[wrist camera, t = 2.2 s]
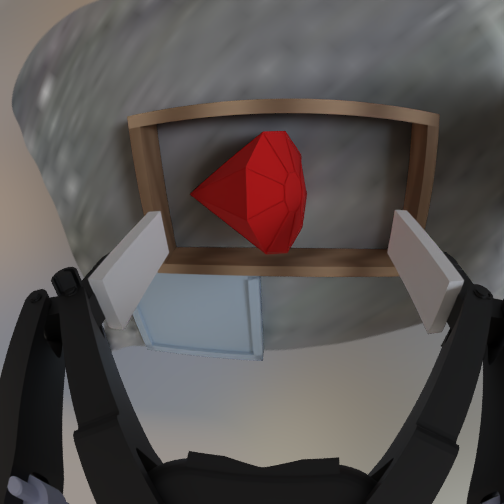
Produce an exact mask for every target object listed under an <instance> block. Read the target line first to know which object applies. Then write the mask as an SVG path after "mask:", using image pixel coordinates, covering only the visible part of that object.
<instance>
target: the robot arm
mask: <svg viewBox="0 0 504 504" xmlns="http://www.w3.org/2000/svg"><path fill="white" fill-rule="evenodd" d="M387 253H388V255H389V257H390V259H391V261H392V262H393V264H394V266H395V268H396V270H397V272H398V273H399V275H400V277H401V279H402V281H403V283H404V285H405V287H406V289H407V291H408V293H409V295H410V297H411V299H412V301H413V303H414V305H415V307H416V309H417V311H418V313H419V316H420V318H421V320H422V322H423V324H424V326H425V329H426V331H427V333H428V334H432V333H439V332H442V331H443V329H444V327H445V324H446V322H447V323H448V325H449V327H450V330H449V332H448V334H447V335H446V337H445V339H444V341H443V343H442V345H441V346H442V349H441V351H440V353H439V356H438V358H437V360H436V363H435V365H434V367H433V369H432V372H431V374H430V376H429V378H428V380H427V382H426V385H425V387H424V388H423V390H422V392H421V394H420V396H419V398H418V400H417V402H416V404H415V406H414V407H413V409H412V411H411V413H410V415H409V416H408V418H407V420H406V422H405V423H404V425H403V427H402V428H401V430H400V432H399V433H398V435H397V437H396V438H395V440H394V441H393V443H392V444H391V446H390V448H389V449H388V450H387V452H386V453H385V455H384V456H383V457H382V459H381V460H380V461H379V462H378V463H377V465H376V466H375V467H374V468H373V469H372V471H371V472H370V473H369V474H368V475H367V474H366V473H364V472H362V471H360V470H357V469H354V468H352V467H348V466H344V465H339V458H324V459H303V460H298V461H294V462H290V463H285V464H280V465H275V466H270V467H257V466H254V465H250V464H247V463H244V462H241V461H238V460H234V459H231V458H228V457H225V456H219V455H212V454H204V453H198V452H192V451H189V453H188V457H187V458H186V459H179V460H174V461H170V462H166V463H164V464H163V463H162V461H161V460H160V458H159V457H158V456H157V454H156V453H155V451H154V450H153V448H152V447H151V445H150V443H149V441H148V439H147V437H146V435H145V433H144V431H143V428H142V427H141V424H140V422H139V420H138V418H137V416H136V413H135V411H134V409H133V407H132V404H131V402H130V400H129V397H128V395H127V392H126V390H125V388H124V385H123V382H122V380H121V377H120V375H119V372H118V369H117V367H116V364H115V361H114V358H113V355H112V352H111V349H110V346H109V343H108V340H107V337H106V334H105V330H104V328H103V326H102V323H103V321H104V320H105V319H106V321H107V323H108V325H109V327H110V328H112V329H118V330H124V328H125V327H126V325H127V323H128V321H129V319H130V318H131V316H132V314H133V312H134V311H135V309H136V307H137V305H138V304H139V302H140V300H141V298H142V297H143V295H144V293H145V292H146V290H147V288H148V287H149V285H150V283H151V282H152V280H153V278H154V277H155V275H156V273H157V272H158V270H159V268H160V267H161V265H162V264H163V262H164V260H165V259H166V257H167V255H168V254H169V250H168V245H167V240H166V236H165V231H164V226H163V221H162V216H161V211H153V212H148V213H147V214H146V215H145V216H144V217H143V218H142V219H141V220H140V221H139V222H138V223H137V224H136V225H135V226H134V228H133V229H132V230H131V231H130V232H129V233H128V234H127V235H126V236H125V237H124V238H123V239H122V240H121V241H120V243H119V244H118V245H117V246H116V247H115V248H114V249H113V250H112V251H111V253H108V254H107V255H105V256H104V257H102V258H101V259H100V260H99V261H98V263H97V265H95V266H94V267H93V268H92V270H91V271H90V272H89V273H88V274H87V275H86V276H85V278H84V279H83V280H82V281H81V278H80V276H79V274H78V271H77V269H76V268H74V267H68V268H64V269H62V270H60V271H58V272H57V273H56V274H55V275H54V276H53V277H52V280H51V282H52V284H53V286H54V288H55V290H56V293H57V295H58V296H57V297H51V298H49V296H48V294H47V292H46V291H45V290H43V289H40V290H37V291H33V292H32V293H31V294H30V295H29V296H28V297H27V299H26V300H25V302H24V305H23V307H22V310H21V313H20V315H19V318H18V321H17V323H16V326H15V329H14V332H13V335H12V338H11V341H10V345H9V348H8V351H7V354H6V358H5V362H4V365H3V369H2V373H1V377H0V504H69V503H67V502H66V500H65V498H64V496H63V485H64V468H63V448H62V410H63V408H62V407H63V390H64V377H65V367H66V373H67V378H68V383H69V389H70V393H71V398H72V402H73V407H74V411H75V415H76V419H77V423H78V430H76V431H74V434H73V437H74V442H75V445H76V449H77V452H78V455H79V458H80V461H81V464H82V467H83V470H84V473H85V476H86V479H87V481H88V484H89V486H90V489H91V491H92V494H93V496H94V499H95V501H96V503H97V504H432V503H433V501H434V499H435V498H436V496H437V494H438V492H439V491H440V489H441V487H442V485H443V483H444V481H445V479H446V477H447V476H448V474H449V472H450V470H451V468H452V465H453V463H454V461H455V459H456V457H457V454H458V451H459V445H457V444H456V441H457V437H458V435H459V433H460V430H461V428H462V425H463V423H464V420H465V417H466V415H467V412H468V409H469V406H470V403H471V400H472V397H473V394H474V391H475V388H476V384H477V381H478V377H479V373H480V370H481V366H482V362H483V399H482V414H481V425H480V433H479V440H478V448H477V453H476V459H475V464H474V469H473V474H472V478H471V482H470V487H469V493H468V497H467V504H504V299H503V300H499V299H494V298H493V295H492V294H491V292H490V291H489V290H488V289H487V288H485V287H483V286H481V285H478V284H473V283H472V282H471V280H470V279H469V278H468V276H467V275H466V274H465V272H464V271H463V270H462V268H461V267H460V266H459V265H458V263H457V262H456V261H455V259H454V258H453V257H452V256H450V255H449V254H447V253H446V252H442V251H441V249H440V248H439V247H438V246H437V245H436V243H435V242H434V241H433V240H432V239H431V237H430V236H429V235H428V234H427V233H426V232H425V230H424V229H423V228H422V227H421V226H420V225H419V223H418V222H417V221H416V220H415V219H414V218H413V217H412V216H411V215H410V213H409V212H408V211H407V210H395V212H394V218H393V224H392V230H391V235H390V241H389V246H388V251H387Z"/></svg>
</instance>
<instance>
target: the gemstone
mask: <svg viewBox="0 0 504 504" xmlns="http://www.w3.org/2000/svg"><path fill="white" fill-rule="evenodd" d="M275 132H282V133H275ZM286 135H287V136H288V134H287V133H286V131H269V132H262V133H261V134H260V135H258V136H257V137H256V138H255V139H253V140H252V141H251V142H250V143H248V144H247V145H246V146H245V147H243V148H242V149H241V150H240V151H239V152H237V153H236V154H235V155H234V156H233V157H231V158H230V159H229V160H228V161H227V162H226V163H224V164H223V165H222V166H221V167H220V168H219V169H217V170H216V171H215V172H214V173H213V174H212V175H210V176H209V177H208V178H207V179H206V180H205V181H204V182H203V183H201V184H200V185H199V186H198V187H197V188H196V190H194V191H193V192H191V193H190V195H191V196H192V197H195V199H196V200H197V201H199V202H200V203H201V204H204V206H205V207H206V208H208V209H209V210H210V211H212V212H213V213H214V214H215V215H217V216H218V217H219V218H220V219H222V220H223V221H224V222H226V223H227V224H228V225H229V226H231V227H232V228H233V229H234V230H236V231H237V232H238V233H239V234H241V235H242V236H243V237H245V238H246V239H247V240H248V241H250V242H251V243H252V244H253V245H255V246H256V247H257V248H258V249H260V250H261V251H262V252H264V253H265V254H280V253H288V251H289V250H290V248H291V246H292V244H293V243H294V241H295V239H296V238H297V236H298V234H299V232H300V231H301V229H302V226H303V220H302V217H303V219H304V212H305V205H306V198H305V195H306V197H307V191H306V188H305V182H304V176H303V170H302V164H301V158H300V156H301V154H300V153H299V151H298V150H297V148H296V146H295V145H294V143H293V142H292V140H291V139H290V137H289V136H288V137H287V136H286ZM288 138H289V139H290V140H289V139H288ZM290 141H291V142H292V143H291V142H290ZM292 144H293V145H294V146H293V145H292ZM294 147H295V148H296V149H295V148H294ZM296 150H297V151H298V152H297V151H296ZM298 153H299V154H300V155H299V154H298ZM304 203H305V205H304ZM303 210H304V212H303ZM301 224H302V226H301ZM300 228H301V229H300ZM298 231H299V232H298ZM297 233H298V234H297ZM296 235H297V236H296ZM295 236H296V237H295ZM294 238H295V239H294ZM293 240H294V241H293ZM291 243H292V244H291ZM290 245H291V246H290ZM288 248H289V249H288ZM273 252H277V253H273Z"/></svg>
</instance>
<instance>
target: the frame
mask: <svg viewBox="0 0 504 504" xmlns="http://www.w3.org/2000/svg"><path fill="white" fill-rule="evenodd" d="M261 113H319V114H340V115H354V116H366V117H375V118H384V119H392V120H400V121H406V122H412V130H411V146H410V158H409V168H408V177H407V186H406V193H405V200H404V207H403V210H407V211H408V212H409V213H410V215H411V216H412V217H413V218H414V219H415V220H416V221H417V222H418V223H419V225H420V226H421V227H422V228H423V229H424V230H425V226H426V221H427V216H428V211H429V206H430V200H431V194H432V188H433V181H434V174H435V166H436V157H437V147H438V134H439V116H440V114H436V113H431V112H426V111H421V110H415V109H410V108H403V107H397V106H390V105H383V104H374V103H365V102H355V101H342V100H325V99H256V100H239V101H226V102H215V103H205V104H197V105H189V106H182V107H175V108H169V109H163V110H157V111H152V112H147V113H142V114H137V115H132V116H127V119H128V127H129V134H130V141H131V148H132V154H133V161H134V166H135V172H136V178H137V183H138V189H139V194H140V199H141V204H142V208H143V213H144V216H145V215H146V214H147V213H148V212H153V211H161V216H162V221H163V226H164V231H165V236H166V240H167V245H168V250H169V254H168V255H167V257H166V259H165V260H164V262H163V264H162V265H161V267H160V268H159V270H158V273H170V274H199V275H235V276H293V277H393V276H400V275H399V273H398V272H397V270H396V268H395V266H394V264H393V262H392V261H391V259H390V257H389V255H388V253H387V251H388V249H332V248H290V250H289V251H288V253H280V254H265V253H264V252H262V251H261V250H260V249H258V248H221V247H176V243H175V238H174V233H173V227H172V222H171V217H170V211H169V206H168V200H167V194H166V188H165V182H164V175H163V169H162V162H161V155H160V148H159V140H158V132H157V124H159V123H165V122H172V121H179V120H186V119H195V118H204V117H214V116H226V115H240V114H261ZM288 249H289V248H288ZM273 253H277V252H273Z"/></svg>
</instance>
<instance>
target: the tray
mask: <svg viewBox="0 0 504 504" xmlns="http://www.w3.org/2000/svg"><path fill="white" fill-rule="evenodd" d="M133 317H134V319H135V322H136V324H137V327H138V329H139V331H140V334H141V336H142V338H143V340H144V343H145V345H146V347H147V349H149V350H155V351H162V352H170V353H176V354H185V355H194V356H203V357H213V358H226V359H239V360H257V361H262V360H263V353H264V347H263V324H262V301H261V279H260V276H235V275H199V274H170V273H158V272H157V273H156V275H155V277H154V278H153V280H152V282H151V283H150V285H149V287H148V288H147V290H146V292H145V293H144V295H143V297H142V298H141V300H140V302H139V304H138V305H137V307H136V309H135V311H134V312H133Z"/></svg>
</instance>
